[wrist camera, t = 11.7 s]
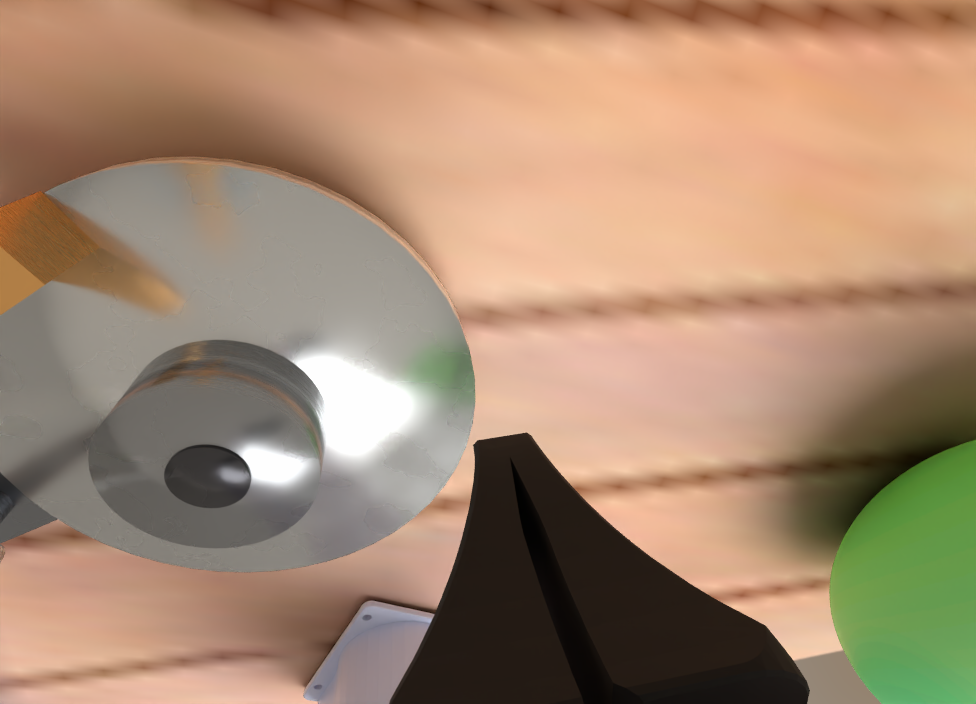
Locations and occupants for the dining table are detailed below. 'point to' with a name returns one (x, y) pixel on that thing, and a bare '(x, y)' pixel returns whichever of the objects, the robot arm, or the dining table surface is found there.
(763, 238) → the dining table surface
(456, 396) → the disc
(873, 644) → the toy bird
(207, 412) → the cover
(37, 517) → the dial stand
